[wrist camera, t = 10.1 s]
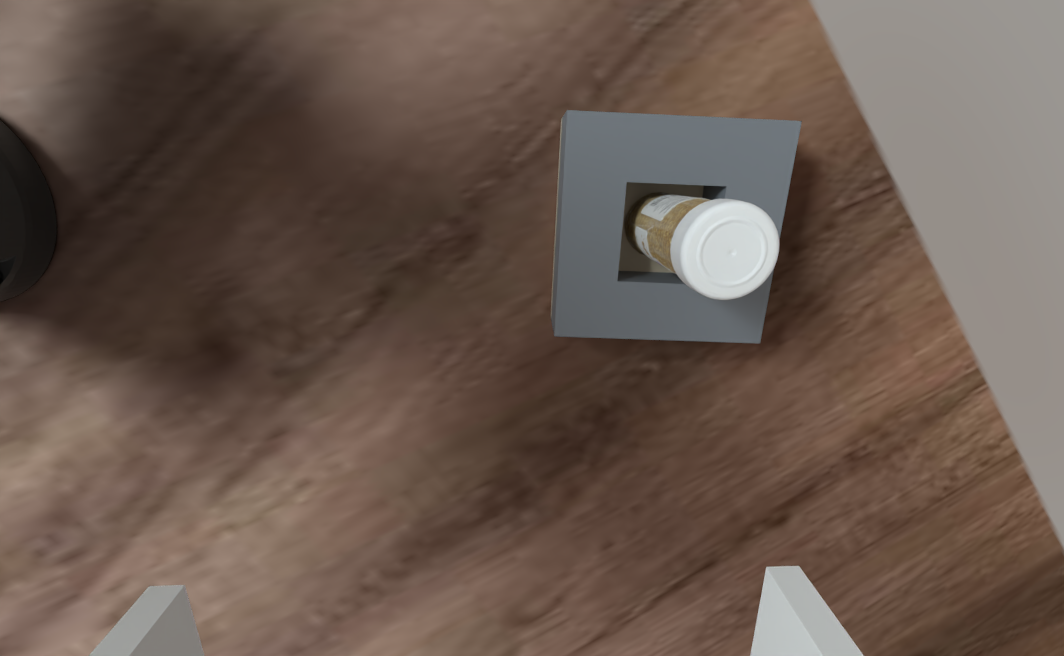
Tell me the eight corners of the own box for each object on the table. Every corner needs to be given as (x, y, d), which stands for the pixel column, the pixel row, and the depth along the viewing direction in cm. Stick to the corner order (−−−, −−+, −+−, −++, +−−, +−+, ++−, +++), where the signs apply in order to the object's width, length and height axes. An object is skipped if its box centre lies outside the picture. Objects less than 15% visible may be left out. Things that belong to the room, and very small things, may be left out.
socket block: (550, 316, 38) (554, 336, 33) (561, 119, 34) (567, 110, 29) (730, 322, 38) (759, 343, 33) (762, 128, 34) (801, 121, 29)
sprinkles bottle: (618, 252, 35) (672, 296, 23) (629, 187, 34) (692, 195, 21) (681, 259, 36) (769, 307, 23) (694, 194, 34) (795, 206, 21)
